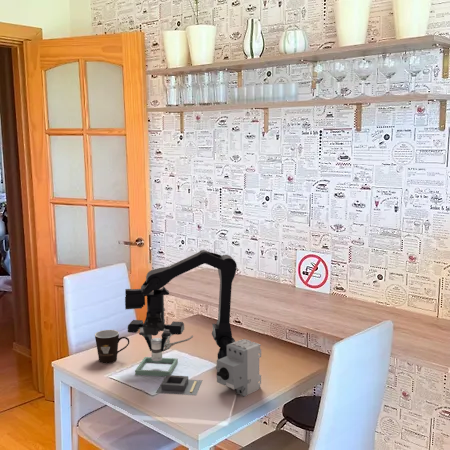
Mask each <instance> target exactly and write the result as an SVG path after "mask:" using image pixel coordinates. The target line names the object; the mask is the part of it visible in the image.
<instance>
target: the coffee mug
mask: <svg viewBox="0 0 450 450" xmlns="http://www.w3.org/2000/svg"><path fill="white" fill-rule="evenodd" d="M119 336H120V332H119V331H118V330H115V329H104V330H100V331H97V332H96V333H94V338H95V343H96V344H95V345H96V350H97V356H98V362H99V363H101V364H113V363H115V362H116V361H117V360H118V354H119V353H120V352H121V351H123V350H125V349H127V347H128V346H129V345H130V339H129V338H128V337H126V336H120V337H119ZM122 339H125V340H126V341H127V344H125V346H124V347H122V348H120V349H119V343H120V341H121V340H122ZM118 349H119V350H118Z"/></svg>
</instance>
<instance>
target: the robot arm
mask: <svg viewBox="0 0 450 450" xmlns="http://www.w3.org/2000/svg"><path fill="white" fill-rule="evenodd" d="M203 264H206V265H208V266H210V267H213V268H215V269H217V271H218V278H219V297H218V313H217V320H216V323H211V324H212V330H211V331H212V332H211V336H212V337H213V340H214V341H215V343H216V345H217V346H218V347H219V349H218V352H217V360H218V359H221V358H223V357H226V356H227V345H228V344H231V343H233V342H236V340H235V338H234V337H233V333H232V328H231V323H230V320H231V318H230V317H231V303H232V285H233V281H234V279H235V276H236V272H237V269H238V268H237V267H238V266H237V265H238V264H237V262H236V261H235V260H234V258H232V256H231V255H229V254H223V255H221V254H219V253H214V252H211V251H208V250H206V249H201V250H199V251H198V252H196V253H193V254H192V255H190V256H187V257H186V258H184V259H181V260H180V261H177V262H175V263H173V264H171V265H168V266H165V267H164V266H163V267H159V268H154V269H152V270H149V271H148V272H147V274H146V276H145V281H144V282H143V283H142V285H141V286H140V288H133V289H132V288H125V294H124V295H125V296H124V305H125V310H136V309H137V310H140V309H142V308H144V306H146V310H147V311H146V314H145V315H146V317H145V319H144V321H143V319H142V320H140V319H132V320H131V321H130V322H129V323H128V325H127V333H129V334H131V333H133V334H134V333H135V334H136V333H138V332H139V333H138V335H140V336H142V337H143V338H144V339H145V341H146V344H147V346H148V349H149V351H150V352H151V339H153V336H155V337H156V336H157V335H158V334H159V332H162V333H161V339H162V344H161V351H162V353H163V352H164V351H163V350H164V348H165V344H166V342H167V338H168V336H170V335H171V334H174V335H177V336H179V335H182V333H183V332H184V330H185V324H184V322H183V321H172V322H171V324H165V322H166V319H165V300H164V299H165V297H164V296H169V295H170V292H169V290H168V289H167V288H166V287H165V286H167V285H168V283H169V282H171V281H172V280H173V279H174V278H177V277H179V276H181V275H183V274H185V273H187V272H190V271H191V270H193V269H195V268H198V267H200V266H202V265H203Z"/></svg>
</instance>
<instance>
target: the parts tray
mask: <svg viewBox="0 0 450 450" xmlns="http://www.w3.org/2000/svg"><path fill="white" fill-rule="evenodd" d="M151 357H152V356H144V357H143V359H142V360H141V362H140V363H139V364H138V366H137V367H136V368H135V370H134V375H136V376H152V377H166V376H167V375H172V374H173V371H174V370H175V369H176V367H177V365H178V363H179V362H178V361H179V359H178V358H171V357H162V360H161V361H152V360H151ZM147 363H156V364H157V363H160V364H171V365H170V367H169V369H168V370H152V369H143V368H144V367H145V365H146V364H147Z"/></svg>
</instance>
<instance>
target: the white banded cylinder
mask: <svg viewBox="0 0 450 450" xmlns="http://www.w3.org/2000/svg"><path fill="white" fill-rule="evenodd" d="M161 344H162V337H161V338H160V337H154V338H153V337H152V339H151V351H150V352H151V356H150V357H151V360H152V361H161V360H162V358H163V352H162V351H161Z"/></svg>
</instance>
